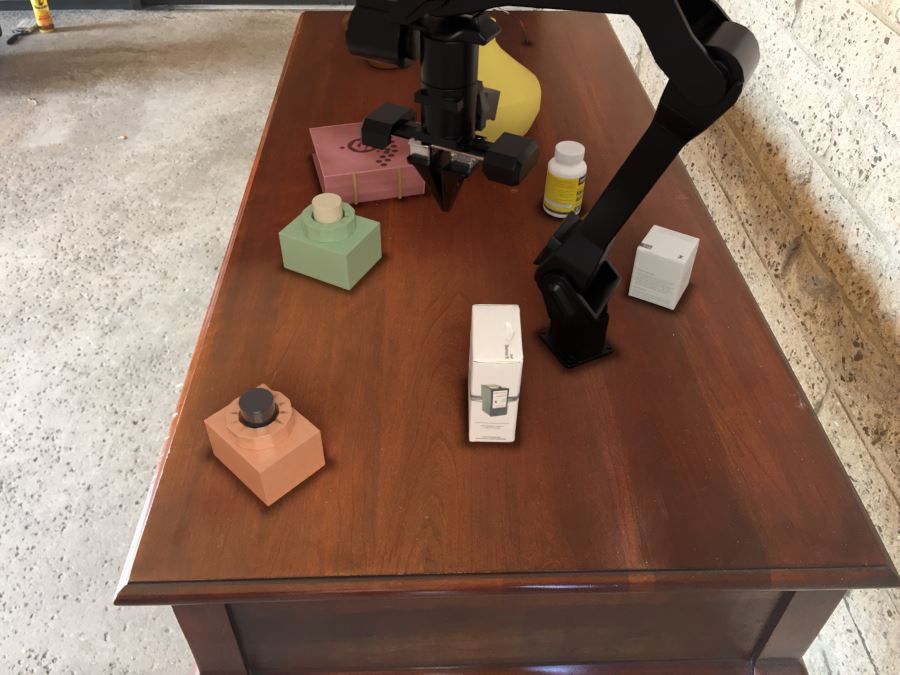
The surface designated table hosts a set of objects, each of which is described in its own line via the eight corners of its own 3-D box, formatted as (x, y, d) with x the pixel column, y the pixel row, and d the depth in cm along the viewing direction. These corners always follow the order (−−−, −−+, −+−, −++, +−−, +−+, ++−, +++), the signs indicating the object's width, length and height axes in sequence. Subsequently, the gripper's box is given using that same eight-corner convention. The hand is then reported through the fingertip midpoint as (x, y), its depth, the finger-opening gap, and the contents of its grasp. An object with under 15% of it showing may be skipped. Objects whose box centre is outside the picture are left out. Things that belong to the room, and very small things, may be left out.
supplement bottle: (579, 221, 110) (588, 159, 103) (540, 216, 110) (547, 155, 104) (582, 201, 114) (591, 140, 107) (545, 196, 114) (551, 135, 108)
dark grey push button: (283, 415, 73) (280, 399, 72) (255, 433, 72) (251, 418, 70) (263, 397, 75) (259, 382, 74) (235, 415, 73) (231, 400, 72)
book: (327, 210, 111) (324, 179, 107) (312, 157, 122) (309, 128, 118) (425, 196, 114) (425, 166, 110) (402, 146, 125) (401, 117, 121)
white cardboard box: (688, 285, 99) (701, 237, 94) (673, 311, 95) (686, 263, 90) (643, 270, 102) (653, 222, 97) (626, 295, 98) (636, 247, 93)
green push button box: (382, 257, 103) (379, 208, 98) (349, 290, 98) (344, 241, 92) (318, 236, 106) (313, 188, 101) (283, 267, 101) (276, 219, 96)
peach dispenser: (325, 464, 77) (318, 417, 73) (268, 506, 74) (256, 460, 69) (270, 417, 82) (260, 370, 77) (213, 454, 78) (199, 407, 73)
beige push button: (348, 213, 98) (347, 197, 96) (332, 227, 95) (330, 211, 94) (324, 206, 99) (322, 190, 97) (308, 220, 96) (306, 203, 95)
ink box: (466, 382, 86) (470, 301, 78) (511, 383, 86) (519, 302, 78) (467, 443, 80) (471, 360, 72) (515, 443, 80) (525, 361, 72)
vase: (411, 159, 122) (408, 37, 109) (439, 107, 135) (440, -7, 122) (526, 175, 119) (538, 51, 106) (544, 120, 132) (556, 4, 119)
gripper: (565, 66, 80) (550, 197, 90) (406, 31, 86) (409, 158, 96) (523, 111, 72) (511, 247, 83) (352, 69, 78) (361, 201, 89)
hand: (446, 210), depth 88 cm, fingers closed
